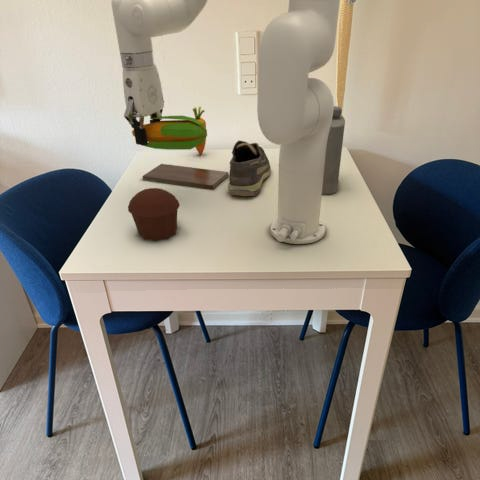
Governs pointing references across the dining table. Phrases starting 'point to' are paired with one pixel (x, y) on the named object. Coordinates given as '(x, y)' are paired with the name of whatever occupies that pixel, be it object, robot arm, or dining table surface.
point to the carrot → (197, 117)
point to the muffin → (154, 213)
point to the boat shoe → (247, 169)
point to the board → (186, 176)
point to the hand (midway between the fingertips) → (149, 139)
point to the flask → (333, 152)
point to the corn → (175, 133)
